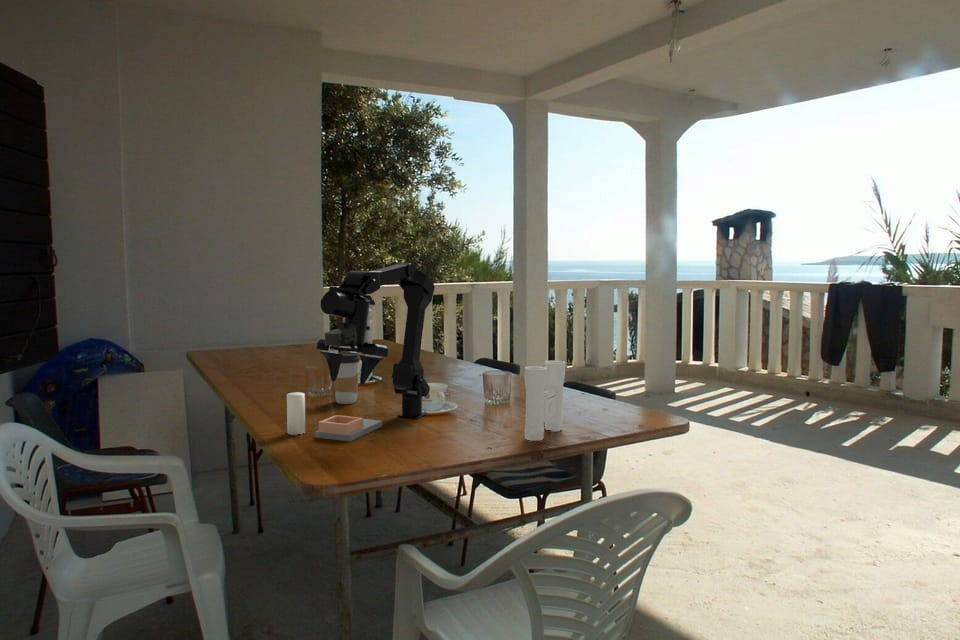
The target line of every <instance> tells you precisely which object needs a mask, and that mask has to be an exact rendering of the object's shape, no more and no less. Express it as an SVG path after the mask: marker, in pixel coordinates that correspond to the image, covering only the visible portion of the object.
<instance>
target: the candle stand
mask: <svg viewBox="0 0 960 640" xmlns="http://www.w3.org/2000/svg"><path fill="white" fill-rule="evenodd" d="M382 427H383V420H378V419H377V420H375V419H367V418H364V417H358V416H350V415H349V416H348V415H340V414H339V415H338V414H336V415H333V416H331V417H328V418H325V419H323V420H320V421H318V429H317V430H315V431H314V435H315V436H314V438H317V439H326V440H335V441H341V442H342V441H343V442H352V441H355V440H357V439H358V438H361V437H363V436H366V435H367V434H369V433H371V432H373V431H376V430H378V429H379V428H382Z"/></svg>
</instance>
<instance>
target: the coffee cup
mask: <svg viewBox="0 0 960 640" xmlns="http://www.w3.org/2000/svg"><path fill="white" fill-rule="evenodd" d="M338 354H343V358H342V361H341V365H340V368H339V372H338V375H337V378H336V381H333V383H334V393H335V395H334V396H335V401H336V403H337V404H340V405H348V404H351V405H352V404H355V403H356V401H357V399H358V390H359V389H358V387H359V373H360V371H359V369H360V368H359V367H360V361H361V359H360V356H359V354H358V352H341V353H339V352H338Z"/></svg>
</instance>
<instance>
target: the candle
mask: <svg viewBox="0 0 960 640" xmlns="http://www.w3.org/2000/svg"><path fill="white" fill-rule="evenodd" d="M286 417H287V418H286V422H287V424H286V425H287V427H286V430H287V432H286V433H288V434H287V435H289V434H290V435H291V436H298V434H300V435H303V433H304V434H305V433H306V393H304V392H297V391H296V392H290V393H287V394H286Z"/></svg>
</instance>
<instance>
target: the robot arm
mask: <svg viewBox="0 0 960 640" xmlns="http://www.w3.org/2000/svg"><path fill="white" fill-rule="evenodd" d="M394 282H398V283H397V284H398V286H399V287H400V288H401V289H402V290H403V300H404V302H405V304H406V307H407V309H406V310H407V311H406V319H405V327H404V336H403V345H402V352H401V358H400V360H399V361H398V362H396V363H394V364H393V366H392V373H391V374H392V375H391V378H392V381H391V382H392V385H393V389H394V393H395V394H396V395H401V412H400V413H398V414H397V415H396V416H397V417H398V418H406V419H416V420H417V419H420V418H421V417H424V416H426V415H427V413H428V412H425V411H423V397H427V396H428V395H430V391H431V387H430V385H429V384H428V382H427V381H426V380H425V378H424V377H425V375H424V373H425V372H424V368H423V366H422V363H421V360H420V357H421V356H420V355H421V349H422V348H421V347H422V339H423V330H424V323H425V315H426V314H425V313H426V310H427V308H428V307H429V305H430V304H431V302H432V301H433V298H434V297H433V296H434V292H435V283H434V282H433V280H432V279H431V278H430V277H429V276H428V275H427V274H426V273H425V272H422V271H421V270H419V269H418V268H417V267H416V265H415V264H413V263H411V262H397V263H395V264H393V265H389V266H385V267H381V268H377V269H374V270H349V271H348V272H347V273H346V277H345V278H344V279H343V281H342V282H341V283H340V285H338V286H332V285H331V286H329V288H328V291H327V292H326V293H324V295H323V296H322V299H320V308H321V311H322V312H323V313H324V314H326V315H328V316H329V315H330V316H334V317H339V318H343V322H341V321H340V323H339V325H338V328H336V329H335V328H334V329H332V330H328V331H326V332H324V338H321V339H319V340H318V341H317V343H316V350H318V351H319V353H320V354H322V356H323V357H325V359H326V362H327V366H328V370H329V375H330V380H331V382H334V381H336V378H337V375H338V372H339V368H340V365H341V361H342V358H343V354H338V353H343V352H350V353H362V354H363V355H359V360H360V361H361V369H360V378H359V385H362V386H364V385H365V384H366V382H367V381H368V379H369V377H370V376H371V374H372V372H373V371H374V369H375V368H376V367H377V366H378V364H379V363H380V361H384V358H388V355H389V349H388V347H387V345H383V344H376V343H372V342H371V343H369V342H367V341H366V334H367V333H366V332H367V331H370V327H371V326H369V325H368V319H369V312H370V311H369V310H370V306H375V305H376V302H375V301H374V299H373V298H372V296H371V294H374V293H376V292H377V291H379V290H380V289H381V286H383V285H386V284H391V283H394ZM365 341H366V342H365Z"/></svg>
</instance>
